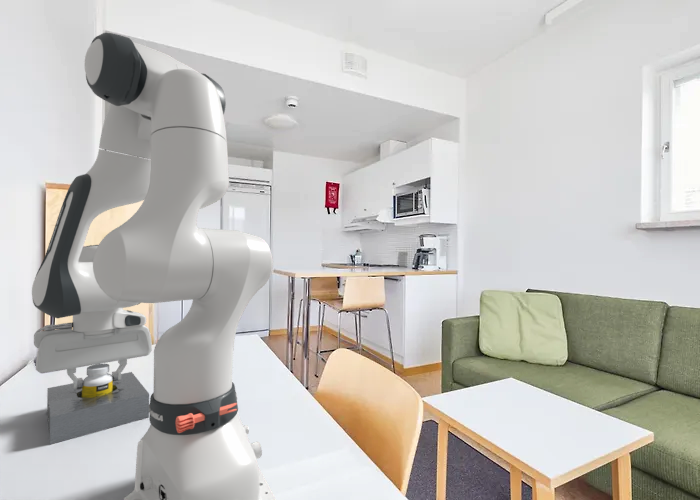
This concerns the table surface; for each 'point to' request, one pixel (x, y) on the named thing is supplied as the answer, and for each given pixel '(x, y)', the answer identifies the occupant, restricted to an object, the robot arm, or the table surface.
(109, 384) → the supplement bottle
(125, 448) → the table surface
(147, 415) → the block
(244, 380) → the table surface
